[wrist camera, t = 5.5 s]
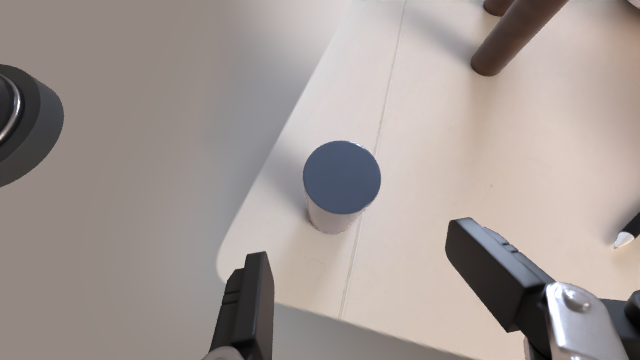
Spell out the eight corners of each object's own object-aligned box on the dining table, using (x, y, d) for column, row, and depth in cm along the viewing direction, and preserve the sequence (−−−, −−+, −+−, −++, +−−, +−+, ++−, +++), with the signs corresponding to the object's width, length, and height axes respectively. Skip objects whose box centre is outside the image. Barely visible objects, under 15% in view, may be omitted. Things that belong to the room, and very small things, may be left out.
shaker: (300, 224, 21) (290, 197, 12) (317, 181, 22) (319, 130, 14) (346, 241, 20) (368, 226, 12) (361, 197, 22) (390, 154, 13)
